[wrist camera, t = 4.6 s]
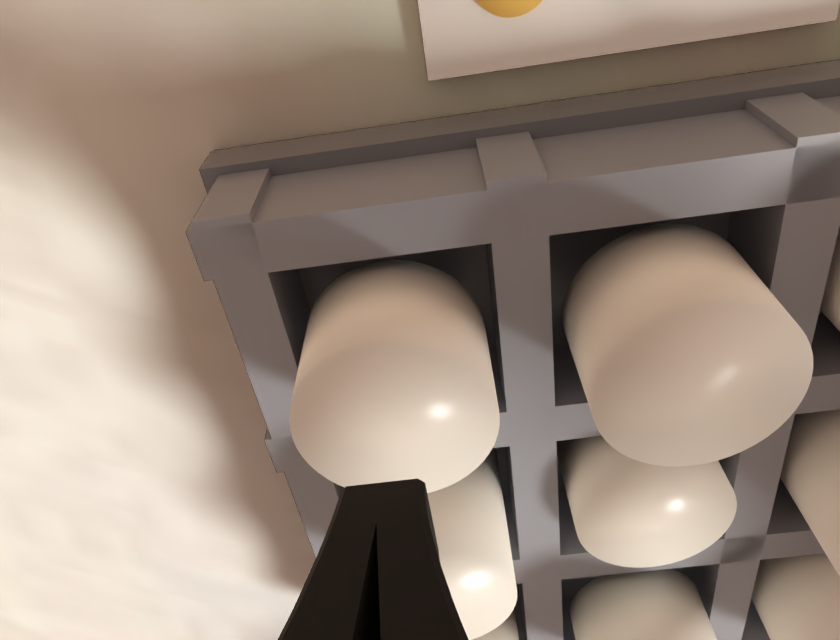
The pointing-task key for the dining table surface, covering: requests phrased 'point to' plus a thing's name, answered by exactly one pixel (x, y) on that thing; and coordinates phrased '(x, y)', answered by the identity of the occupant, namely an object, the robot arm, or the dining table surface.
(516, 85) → the dining table surface
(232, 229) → the board
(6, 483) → the dining table surface
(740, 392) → the mid button
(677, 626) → the middle button
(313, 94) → the dining table surface
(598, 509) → the button mid
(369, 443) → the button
